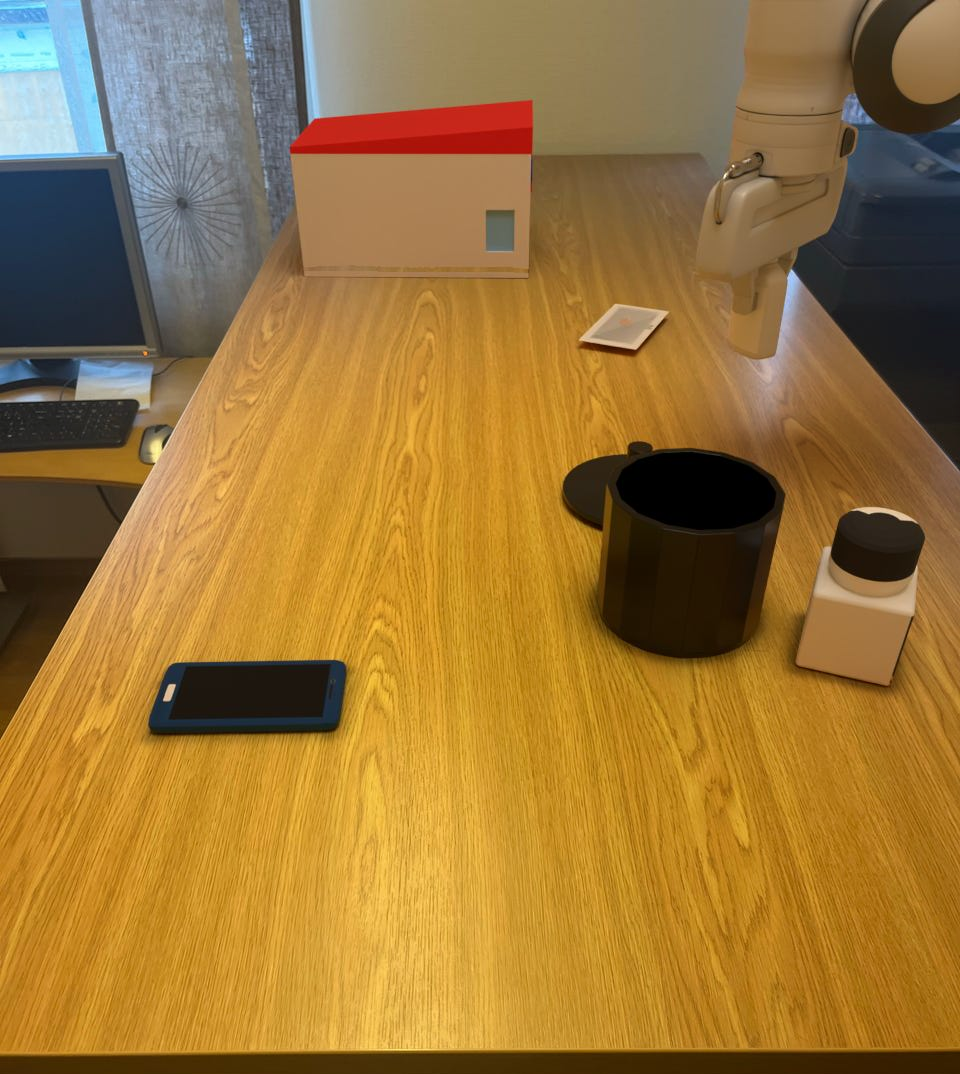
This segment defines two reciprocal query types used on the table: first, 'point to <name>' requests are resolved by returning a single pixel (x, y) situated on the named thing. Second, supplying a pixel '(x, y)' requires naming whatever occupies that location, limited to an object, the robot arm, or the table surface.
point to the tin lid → (595, 482)
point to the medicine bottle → (863, 596)
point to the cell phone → (249, 696)
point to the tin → (687, 550)
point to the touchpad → (624, 326)
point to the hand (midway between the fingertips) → (758, 304)
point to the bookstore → (416, 190)
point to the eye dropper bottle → (761, 316)
